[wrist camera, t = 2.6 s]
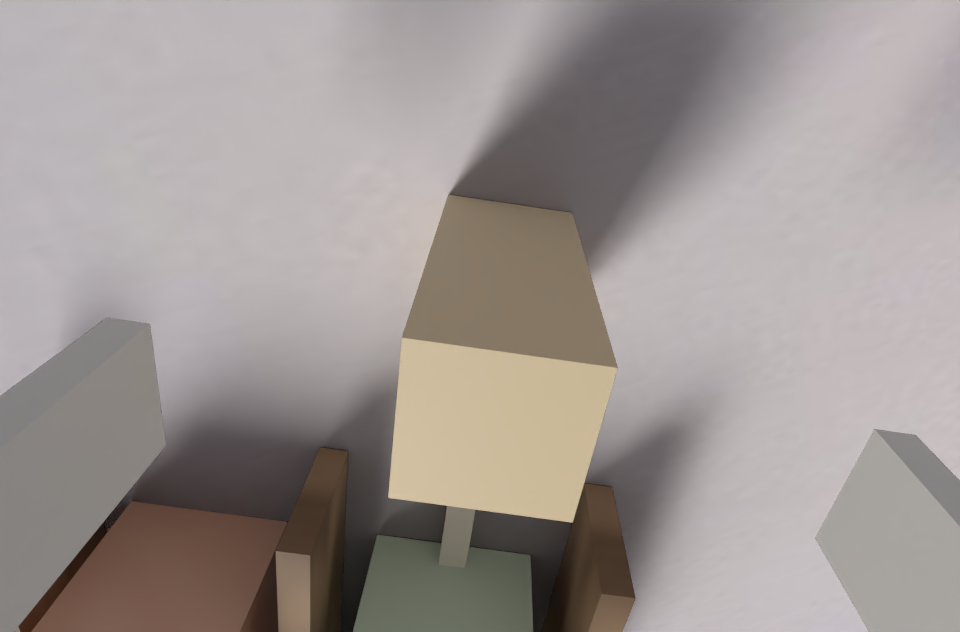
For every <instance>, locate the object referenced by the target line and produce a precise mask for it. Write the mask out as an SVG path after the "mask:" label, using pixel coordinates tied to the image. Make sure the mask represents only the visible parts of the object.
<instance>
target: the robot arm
mask: <svg viewBox="0 0 960 632" xmlns="http://www.w3.org/2000/svg"><path fill="white" fill-rule="evenodd" d="M165 446H166V442H165V434H164V426H163V419H162V411H161V404H160V396H159V388H158V381H157V373H156V365H155V358H154V350H153V343H152V335H151V327H150V324H148V323H141V322H134V321H127V320H120V319H113V318H106V319H104V320H103V321H102V322H100V323H99V324H97V325H96V326H95V327H93V328H92V329H91V330H89V331H88V332H87V333H85V334H84V335H83V336H81V337H80V338H78V339H77V340H76V341H74V342H73V343H72V344H70V345H69V346H68V347H66V348H65V349H63V350H62V351H61V352H59V353H58V354H57V355H55V356H54V357H53V358H51V359H50V360H48V361H47V362H46V363H44V364H43V365H42V366H40V367H39V368H38V369H36V370H35V371H33V372H32V373H31V374H29V375H28V376H27V377H25V378H24V379H23V380H21V381H20V382H18V383H17V384H16V385H14V386H13V387H12V388H10V389H9V390H8V391H6V392H5V393H3V394H2V395H1V396H0V632H14V631H15V630H16V629H17V627H18V626H19V625H20V624H21V622H22V621H23V620H24V619H25V618H26V616H27V615H28V614H29V613H30V611H31V610H32V609H33V608H34V607H35V605H36V604H37V603H38V602H39V600H40V599H41V598H42V597H43V596H44V594H45V593H46V592H47V591H48V589H49V588H50V587H51V586H52V585H53V583H54V582H55V581H56V580H57V578H58V577H59V576H60V575H61V573H62V572H63V571H64V570H65V569H66V567H67V566H68V565H69V564H70V562H71V561H72V560H73V559H74V558H75V556H76V555H77V554H78V553H79V551H80V550H81V549H82V548H83V547H84V545H85V544H86V543H87V542H88V540H89V539H90V538H91V537H92V536H93V534H94V533H95V532H96V531H97V529H98V528H99V527H100V526H101V525H102V523H103V522H104V521H105V520H106V518H107V517H108V516H109V515H110V513H111V512H112V511H113V510H114V509H115V507H116V506H117V505H118V504H119V502H120V501H121V500H122V499H123V498H124V496H125V495H126V494H127V493H128V491H129V490H130V489H131V488H132V487H133V485H134V484H135V483H136V482H137V480H138V479H139V478H140V477H141V476H142V474H143V473H144V472H145V471H146V469H147V468H148V467H149V466H150V465H151V463H152V462H153V461H154V460H155V458H156V457H157V456H158V455H159V453H160V452H161V451H162V450H163V449H164V447H165ZM815 539H816V541H817V542H818V544H819V546H820V548H821V549H822V551H823V553H824V555H825V556H826V558H827V560H828V562H829V563H830V565H831V567H832V568H833V570H834V572H835V574H836V575H837V577H838V579H839V581H840V582H841V584H842V586H843V588H844V589H845V591H846V593H847V595H848V596H849V598H850V600H851V601H852V603H853V605H854V607H855V608H856V610H857V612H858V614H859V615H860V617H861V619H862V621H863V622H864V624H865V626H866V627H867V629H868V631H869V632H960V480H959V479H958V478H957V477H956V476H955V475H954V474H953V473H952V472H951V471H950V470H949V469H948V468H947V467H946V466H945V465H944V464H943V463H942V462H941V461H940V460H939V459H938V458H937V456H936V455H935V454H934V453H933V452H932V451H931V450H930V449H929V448H928V447H927V446H926V445H925V444H924V443H923V442H922V441H921V440H920V439H919V438H918V437H917V436H916V435H912V434H905V433H898V432H891V431H884V430H877V429H874V431H873V433H872V434H871V436H870V438H869V440H868V442H867V444H866V445H865V447H864V449H863V451H862V453H861V455H860V456H859V458H858V460H857V462H856V464H855V466H854V467H853V469H852V471H851V473H850V475H849V476H848V478H847V480H846V482H845V484H844V486H843V487H842V489H841V491H840V493H839V495H838V497H837V498H836V500H835V502H834V504H833V506H832V508H831V509H830V511H829V513H828V515H827V517H826V518H825V520H824V522H823V524H822V526H821V528H820V529H819V531H818V533H817V535H816V537H815Z"/></svg>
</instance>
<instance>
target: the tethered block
mask: <svg viewBox="0 0 960 632" xmlns="http://www.w3.org/2000/svg"><path fill="white" fill-rule="evenodd" d="M617 369H618V367H617V363H616V360H615V357H614V353H613V350H612V346H611V343H610V340H609V336H608V333H607V329H606V326H605V323H604V319H603V316H602V312H601V309H600V306H599V302H598V299H597V295H596V292H595V289H594V285H593V282H592V278H591V275H590V272H589V268H588V265H587V261H586V258H585V255H584V251H583V248H582V244H581V241H580V238H579V234H578V231H577V227H576V224H575V221H574V217H573V214H572V213H570V212H563V211H556V210H549V209H542V208H536V207H529V206H522V205H515V204H508V203H502V202H495V201H488V200H481V199H474V198H467V197H461V196H454V195H448V197H447V200H446V204H445V207H444V210H443V213H442V216H441V219H440V222H439V225H438V228H437V231H436V234H435V237H434V240H433V244H432V247H431V250H430V253H429V256H428V259H427V262H426V265H425V268H424V271H423V274H422V277H421V280H420V284H419V287H418V290H417V293H416V296H415V299H414V302H413V305H412V308H411V311H410V314H409V317H408V320H407V323H406V327H405V330H404V333H403V336H402V342H401V354H400V366H399V377H398V389H397V401H396V412H395V424H394V436H393V447H392V459H391V471H390V482H389V494H388V498H393V499H400V500H408V501H415V502H423V503H430V504H438V505H445V506H447V508H446V515H445V522H444V528H443V535H442V542H441V543H436V542H429V541H421V540H414V539H406V538H398V537H391V536H383V535H377V537H376V541H375V545H374V549H373V553H372V557H371V561H370V565H369V569H368V573H367V577H366V581H365V585H364V589H363V593H362V597H361V601H360V605H359V609H358V613H357V617H356V621H355V625H354V629H353V632H533V611H532V584H531V556H530V555H526V554H519V553H511V552H504V551H496V550H489V549H481V548H474V547H469V544H470V539H471V533H472V528H473V522H474V517H475V511H476V510H482V511H490V512H497V513H505V514H512V515H519V516H527V517H534V518H542V519H549V520H557V521H564V522H571V523H573V520H574V516H575V513H576V509H577V506H578V502H579V499H580V496H581V492H582V489H583V485H584V482H585V479H586V475H587V472H588V468H589V465H590V461H591V458H592V455H593V451H594V448H595V444H596V441H597V438H598V434H599V431H600V427H601V424H602V420H603V417H604V414H605V410H606V407H607V403H608V400H609V397H610V393H611V390H612V386H613V383H614V379H615V376H616V373H617Z"/></svg>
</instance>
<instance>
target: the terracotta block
mask: <svg viewBox="0 0 960 632" xmlns="http://www.w3.org/2000/svg"><path fill="white" fill-rule="evenodd" d="M286 525H287V522H284V521H277V520H269V519H262V518H254V517H247V516H239V515H232V514H224V513H217V512H209V511H202V510H194V509H187V508H179V507H172V506H164V505H157V504H149V503H142V502H134V501H131V502H130V503H129V505H128V506H127V507H126V509H125V510H124V511H123V513H122V514H121V515H120V517H119V518H118V519H117V520H116V522H115V523H114V524H113V526H112V527H111V528H110V530H109V531H108V532H107V534H106V535H105V536H104V537H103V539H102V540H101V541H100V543H99V544H98V545H97V547H96V548H95V549H94V551H93V552H92V553H91V554H90V556H89V557H88V558H87V560H86V561H85V562H84V564H83V565H82V566H81V568H80V569H79V570H78V571H77V573H76V574H75V575H74V577H73V578H72V579H71V581H70V582H69V583H68V585H67V586H66V587H65V588H64V590H63V591H62V592H61V594H60V595H59V596H58V598H57V599H56V600H55V602H54V603H53V604H52V605H51V607H50V608H49V609H48V611H47V612H46V613H45V615H44V616H43V617H42V619H41V620H40V621H39V622H38V624H37V625H36V626H35V628H34V629H33V630H32V632H279V629H278V602H277V576H276V549H277V546H278V544H279V542H280V539H281V537H282V535H283V532H284V530H285V528H286Z"/></svg>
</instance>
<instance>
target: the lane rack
mask: <svg viewBox="0 0 960 632" xmlns="http://www.w3.org/2000/svg"><path fill="white" fill-rule="evenodd" d="M347 468H348V451H344V450H336V449H329V448H322V447H320V449H319V451H318V453H317V456H316V458H315V460H314V463H313V465H312V467H311V470H310V472H309V474H308V477H307V479H306V481H305V484H304V486H303V488H302V491H301V493H300V495H299V498H298V500H297V502H296V505H295V507H294V509H293V512H292V514H291V516H290V518H289V521H288V523H287V525H286V528H285V530H284V532H283V535H282V537H281V539H280V542H279V544H278V546H277V549H276V576H277V602H278V629H279V632H341V615H342V591H343V566H344V542H345V517H346V492H347ZM105 535H106V532H105V528H104V523H102V525H101V526H100V527H99V528H98V529H97V531H96V532H95V533H94V534H93V536H92V537H91V538H90V539H89V540H88V542H87V543H86V544H85V545H84V547H83V548H82V549H81V550H80V551H79V553H78V554H77V555H76V556H75V558H74V559H73V560H72V561H71V562H70V564H69V565H68V566H67V567H66V569H65V570H64V571H63V572H62V573H61V575H60V576H59V577H58V578H57V580H56V581H55V582H54V583H53V585H52V586H51V587H50V588H49V589H48V591H47V592H46V593H45V594H44V596H43V597H42V598H41V599H40V600H39V602H38V603H37V604H36V605H35V607H34V608H33V609H32V610H31V611H30V613H29V614H28V615H27V616H26V618H25V619H24V620H23V621H22V622H21V624H20V625H19V626H18V627H17V629H16V630H15V631H14V632H32V630H33V629H34V628H35V626H36V625H37V624H38V622H39V621H40V620H41V619H42V617H43V616H44V615H45V613H46V612H47V611H48V609H49V608H50V607H51V605H52V604H53V603H54V602H55V600H56V599H57V598H58V596H59V595H60V594H61V592H62V591H63V590H64V588H65V587H66V586H67V585H68V583H69V582H70V581H71V579H72V578H73V577H74V575H75V574H76V573H77V571H78V570H79V569H80V568H81V566H82V565H83V564H84V562H85V561H86V560H87V558H88V557H89V556H90V554H91V553H92V552H93V551H94V549H95V548H96V547H97V545H98V544H99V543H100V541H101V540H102V539H103V537H104V536H105ZM634 601H635V594H634V589H633V585H632V580H631V575H630V570H629V565H628V561H627V556H626V551H625V546H624V542H623V537H622V532H621V527H620V523H619V518H618V513H617V508H616V503H615V499H614V494H613V489H612V487H608V486H601V485H594V484H586V483H584V487H583V490H582V494H581V497H580V500H579V504H578V507H577V511H576V514H575V517H574V521H573V524H572V528H571V531H570V535H569V538H568V541H567V545H566V548H565V552H564V555H563V558H562V562H561V565H560V569H559V572H558V575H557V579H556V582H555V586H554V589H553V593H552V596H551V599H550V603H549V606H548V610H547V613H546V616H545V620H544V623H543V627H542V630H541V632H622V631H623V629H624V626H625V623H626V621H627V618H628V616H629V613H630V611H631V608H632V606H633V603H634Z"/></svg>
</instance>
